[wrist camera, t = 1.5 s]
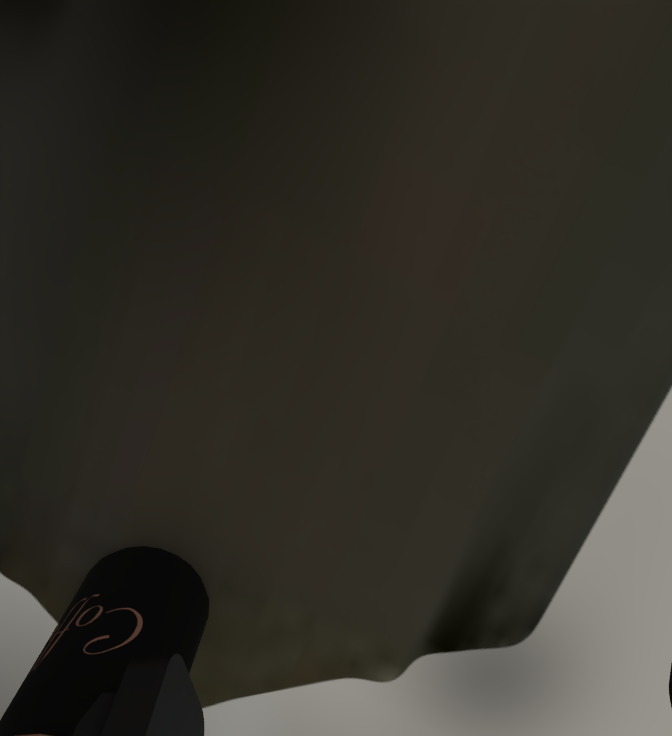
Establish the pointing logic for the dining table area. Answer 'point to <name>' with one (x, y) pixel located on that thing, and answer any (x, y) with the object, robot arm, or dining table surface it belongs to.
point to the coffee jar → (109, 637)
